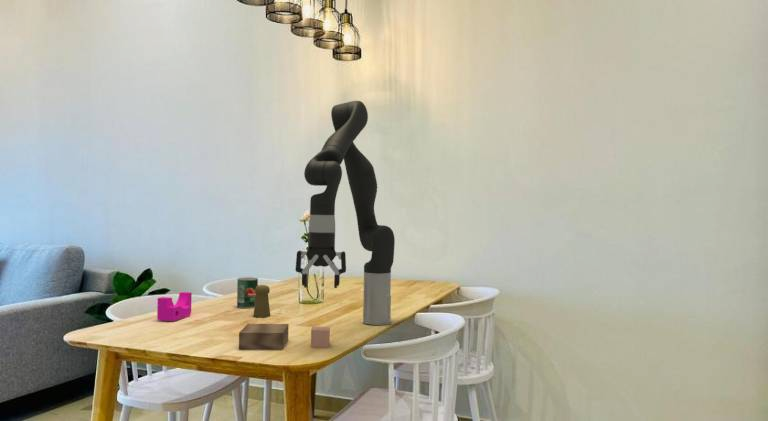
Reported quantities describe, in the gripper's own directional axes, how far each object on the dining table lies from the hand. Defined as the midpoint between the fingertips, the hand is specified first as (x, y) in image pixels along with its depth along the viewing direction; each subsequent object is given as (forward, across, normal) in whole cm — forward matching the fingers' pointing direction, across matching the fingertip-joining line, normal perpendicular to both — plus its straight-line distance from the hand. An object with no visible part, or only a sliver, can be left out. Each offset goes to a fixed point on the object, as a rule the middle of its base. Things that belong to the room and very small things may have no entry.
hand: (320, 287), depth 159 cm
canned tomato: (+17, +33, -62) cm, 72 cm away
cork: (+17, +24, -43) cm, 52 cm away
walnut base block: (+17, +16, -1) cm, 23 cm away
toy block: (+17, +53, -41) cm, 70 cm away
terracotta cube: (+17, 0, 0) cm, 17 cm away
